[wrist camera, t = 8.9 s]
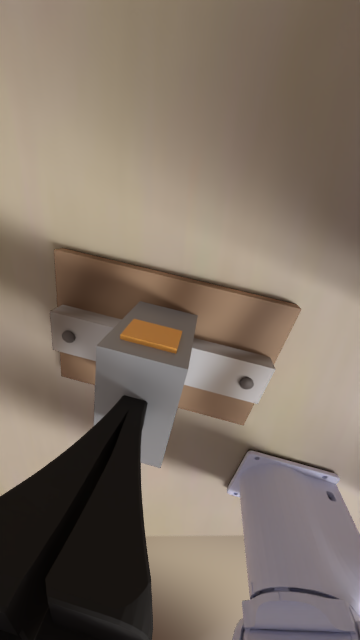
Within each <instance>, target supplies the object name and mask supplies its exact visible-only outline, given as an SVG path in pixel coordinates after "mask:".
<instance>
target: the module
mask: <svg viewBox="0 0 360 640" xmlns="http://www.w3.org/2000/svg"><path fill="white" fill-rule="evenodd" d="M197 317H198V315H194V314H190V313H186V312H182V311H178V310H174V309H170V308H166V307H161V306H157V305H153V304H149V303H145V302H141V301H140V302H139V303H138V304H137V305H136V306H135V307H134V308H133V309H132V310H131V311H130V312H129V313H128V314H127V315H126V316H125V317H124V318H123V319H122V320H121V321H120V322H119V323H118V324H117V325H116V326H115V327H114V328H113V329H112V330H111V331H110V332H109V333H108V334H107V335H106V336H105V337H104V338H103V339H102V340H101V341H100V342H99V343H98V344H97V346H96V373H95V402H94V426H95V425H96V424H97V423H98V422H99V421H100V420H101V419H102V418H103V417H104V416H105V415H106V414H107V413H108V412H109V411H110V410H111V409H112V407H113V406H114V405H115V404H116V403H117V402H118V401H119V400H120V398H121V397H122V396H124V395H126V396H130V397H133V398H137V399H141V400H144V401H147V403H148V404H147V410H146V415H145V420H144V426H143V429H142V437H141V463H144V464H148V465H151V466H155V467H158V468H161V465H162V461H163V458H164V454H165V451H166V447H167V443H168V440H169V436H170V433H171V429H172V426H173V422H174V418H175V415H176V411H177V408H178V404H179V401H180V397H181V393H182V390H183V386H184V383H185V379H186V376H187V372H188V368H189V362H190V356H191V351H192V345H193V340H194V334H195V328H196V323H197Z"/></svg>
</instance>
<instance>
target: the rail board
mask: <svg viewBox="0 0 360 640" xmlns="http://www.w3.org/2000/svg"><path fill="white" fill-rule="evenodd" d="M54 256H55V274H56V291H57V308H55V309H54V310H52V311H50V319H51V332H52V346H53V350H55V351H59V352H60V360H61V376H63V377H67V378H71V379H74V380H78V381H82V382H85V383H89V384H93V385H95V373H96V346H97V344H98V343H99V342H100V341H101V340H102V339H103V338H104V337H105V336H106V335H107V334H108V333H109V332H110V331H111V330H112V329H113V328H114V327H115V326H116V325H117V324H118V323H119V322H120V321H121V320H122V319H123V318H124V317H125V316H126V315H127V314H128V313H129V312H130V311H131V310H132V309H133V308H134V307H135V306H136V305H137V304H138V303H139V302H140V301H141V302H145V303H149V304H153V305H157V306H161V307H166V308H170V309H174V310H178V311H182V312H186V313H190V314H194V315H198V317H197V323H196V328H195V334H194V340H193V345H192V351H191V356H190V362H189V368H188V372H187V376H186V379H185V383H184V386H183V390H182V393H181V397H180V401H179V404H178V408H181V409H185V410H188V411H192V412H196V413H200V414H203V415H207V416H211V417H214V418H218V419H222V420H225V421H229V422H233V423H236V424H240V425H244V423H245V421H246V419H247V417H248V415H249V413H250V411H251V409H252V407H253V405H254V403H255V404H258V402H259V401H260V399H261V397H262V395H263V393H264V391H265V389H266V387H267V385H268V383H269V381H270V379H271V377H272V375H273V373H274V371H275V367H274V363H275V361H276V359H277V357H278V355H279V353H280V351H281V349H282V347H283V345H284V343H285V341H286V339H287V337H288V335H289V333H290V331H291V329H292V327H293V325H294V323H295V321H296V319H297V317H298V315H299V313H300V311H301V308H300V307H299V306H298V305H297V304H293V303H289V302H285V301H281V300H277V299H272V298H268V297H264V296H260V295H256V294H252V293H247V292H243V291H239V290H235V289H231V288H227V287H223V286H218V285H214V284H210V283H206V282H202V281H198V280H194V279H189V278H185V277H181V276H177V275H173V274H169V273H164V272H160V271H156V270H152V269H148V268H144V267H140V266H135V265H131V264H127V263H123V262H119V261H115V260H111V259H106V258H102V257H98V256H94V255H90V254H86V253H81V252H77V251H73V250H69V249H65V248H60V249H54Z"/></svg>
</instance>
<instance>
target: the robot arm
mask: <svg viewBox="0 0 360 640" xmlns="http://www.w3.org/2000/svg"><path fill="white" fill-rule="evenodd" d="M147 404H148V403H147V401H144V400H141V399H137V398H133V397H130V396H126V395H124V396H122V397H121V398H120V400H119V401H118V402H117V403H116V404H115V405H114V406H113V407H112V409H111V410H110V411H109V412H108V413H107V414H106V415H105V416H104V417H103V418H102V419H101V420H100V421H99V422H98V423H97V424H96V425H95V426H94V427H93V428H91V429H90V430H89V431H88V432H87V433H86V434H85V435H84V436H83V437H81V438H80V439H79V440H78V441H77V442H76V443H74V444H73V445H72V446H71V447H70V448H68V449H67V450H66V451H65V452H63V453H62V454H61V455H60V456H58V457H57V458H56V459H54V460H53V461H52V462H50V463H49V464H48V465H46V466H45V467H44V468H42V469H41V470H39V471H38V472H37V473H35V474H34V475H32V476H31V477H29V478H28V479H26V480H25V481H23V482H22V483H20V484H19V485H17V486H16V487H14V488H13V489H11V490H9V491H8V492H6V493H5V494H3V495H2V496H0V640H152V632H153V615H152V593H151V576H150V569H149V562H148V555H147V547H146V538H145V529H144V519H143V507H142V493H141V437H142V429H143V426H144V420H145V415H146V410H147ZM339 480H340V479H339V477H338V475H337V474H335V473H331V472H328V471H324V470H321V469H317V468H313V467H310V466H306V465H302V464H299V463H295V462H292V461H288V460H284V459H281V458H277V457H274V456H270V455H266V454H263V453H259V452H255V451H248V452H247V454H246V455H245V457H244V459H243V461H242V462H241V464H240V466H239V468H238V470H237V471H236V473H235V475H234V477H233V479H232V480H231V482H230V484H229V486H228V488H227V493H228V494H230V495H233V496H237V497H240V501H241V511H242V522H243V532H244V542H245V552H246V562H247V573H248V583H249V593H250V600H244V601H242V607H243V618H242V619H240V620H239V622H238V623H237V626H236V628H235V631H234V635H233V639H232V640H360V534H359V532H358V530H357V528H356V525H355V523H354V521H353V519H352V517H351V515H350V513H349V511H348V509H347V506H346V504H345V502H344V500H343V498H342V496H341V494H340V492H339V490H338V487H337V485H336V484H337V483H338V482H339Z"/></svg>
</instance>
